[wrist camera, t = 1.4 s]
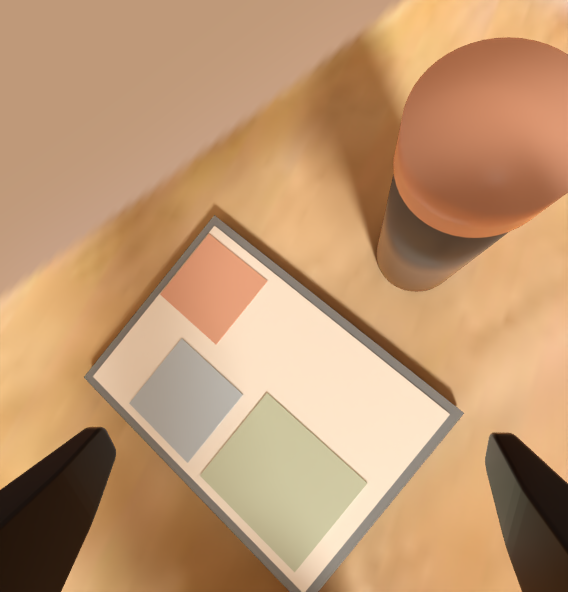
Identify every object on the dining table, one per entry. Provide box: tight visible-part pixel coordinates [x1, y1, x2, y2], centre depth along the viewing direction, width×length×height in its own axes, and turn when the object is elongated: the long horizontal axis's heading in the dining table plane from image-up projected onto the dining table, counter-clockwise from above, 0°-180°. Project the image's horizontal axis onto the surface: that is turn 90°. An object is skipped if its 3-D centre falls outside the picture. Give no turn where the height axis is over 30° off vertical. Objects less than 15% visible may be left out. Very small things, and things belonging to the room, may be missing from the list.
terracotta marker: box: [377, 38, 568, 292], centre depth 16 cm, size 5×5×13 cm
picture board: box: [84, 215, 464, 592], centre depth 22 cm, size 18×13×1 cm
